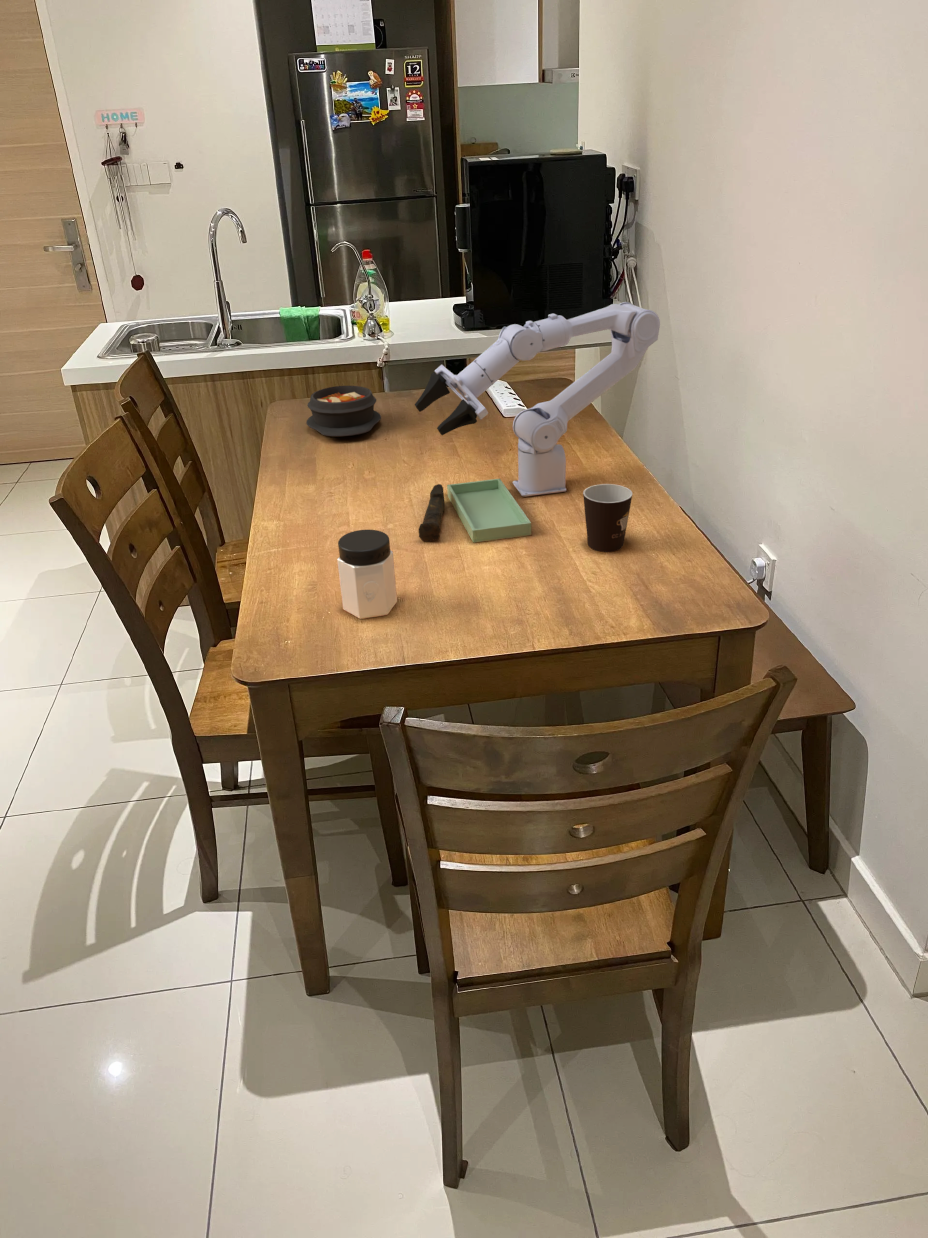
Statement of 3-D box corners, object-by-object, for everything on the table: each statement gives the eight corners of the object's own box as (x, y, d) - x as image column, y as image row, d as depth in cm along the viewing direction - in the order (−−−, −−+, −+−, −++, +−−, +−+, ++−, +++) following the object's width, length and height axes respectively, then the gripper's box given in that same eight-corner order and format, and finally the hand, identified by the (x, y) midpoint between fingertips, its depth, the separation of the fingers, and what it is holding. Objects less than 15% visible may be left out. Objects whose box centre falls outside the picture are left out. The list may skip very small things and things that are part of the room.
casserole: (386, 439, 223) (384, 405, 219) (308, 447, 221) (304, 412, 217) (376, 408, 245) (374, 376, 240) (305, 415, 242) (301, 383, 238)
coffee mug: (599, 558, 165) (601, 506, 160) (572, 541, 171) (573, 490, 166) (652, 543, 169) (656, 492, 164) (624, 526, 176) (627, 477, 171)
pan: (500, 489, 194) (500, 478, 193) (531, 535, 174) (531, 522, 173) (447, 495, 192) (447, 484, 191) (473, 542, 172) (472, 530, 171)
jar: (346, 622, 149) (338, 554, 143) (340, 598, 156) (332, 533, 150) (401, 614, 150) (395, 547, 144) (393, 590, 157) (387, 525, 151)
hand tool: (440, 542, 173) (439, 519, 170) (418, 542, 173) (417, 519, 171) (454, 502, 189) (453, 481, 187) (434, 502, 189) (433, 480, 187)
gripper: (454, 339, 177) (399, 386, 177) (499, 383, 171) (442, 431, 171) (465, 361, 183) (412, 406, 184) (509, 403, 177) (454, 450, 177)
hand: (428, 419), depth 178 cm, fingers open, 7 cm apart
